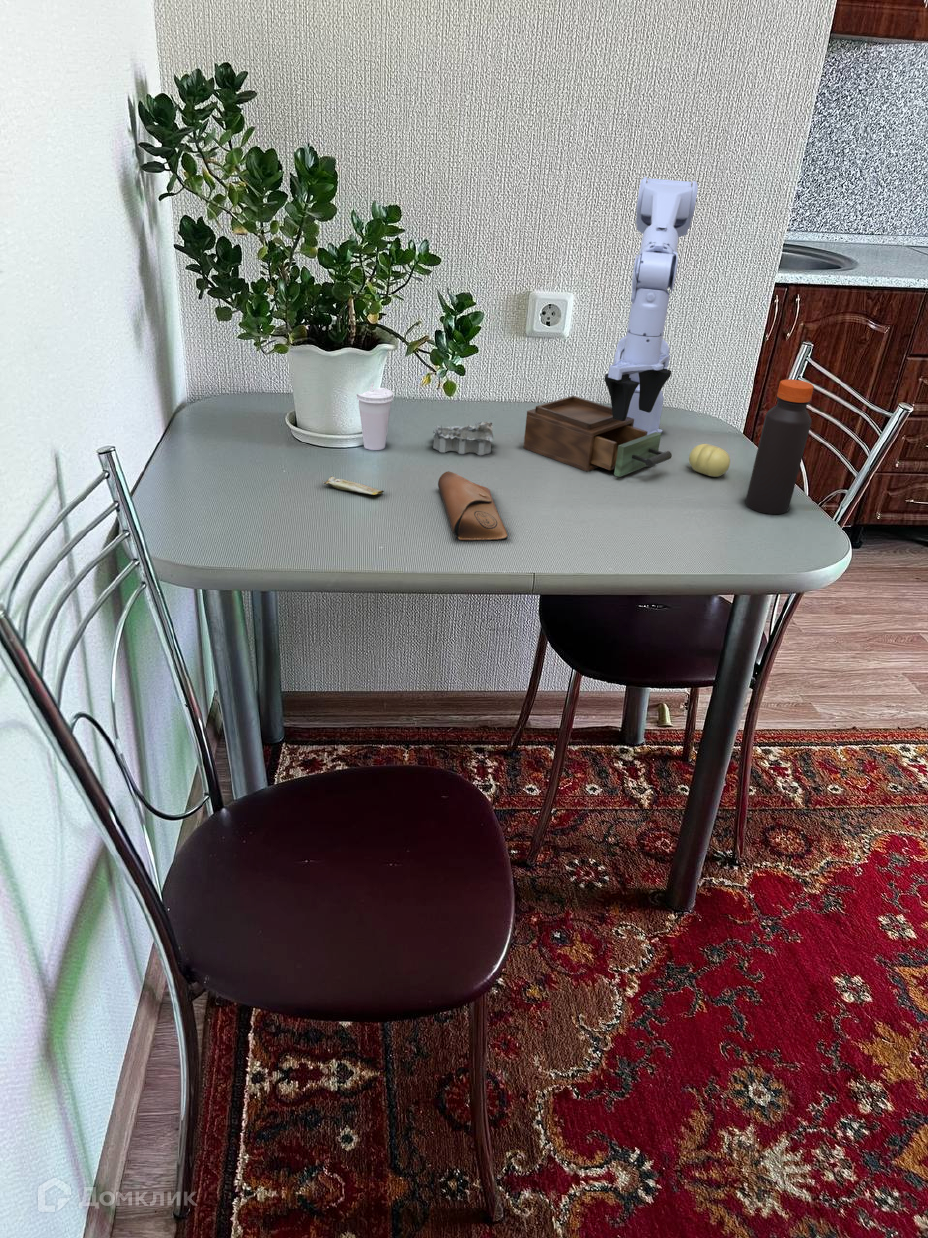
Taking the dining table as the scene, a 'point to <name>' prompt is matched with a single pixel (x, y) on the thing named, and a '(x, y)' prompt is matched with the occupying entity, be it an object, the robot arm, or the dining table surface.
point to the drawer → (627, 450)
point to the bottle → (780, 449)
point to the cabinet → (567, 434)
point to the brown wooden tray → (545, 410)
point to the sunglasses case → (470, 509)
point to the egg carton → (464, 438)
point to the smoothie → (375, 416)
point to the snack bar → (351, 486)
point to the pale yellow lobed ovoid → (709, 460)
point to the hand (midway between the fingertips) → (632, 415)
